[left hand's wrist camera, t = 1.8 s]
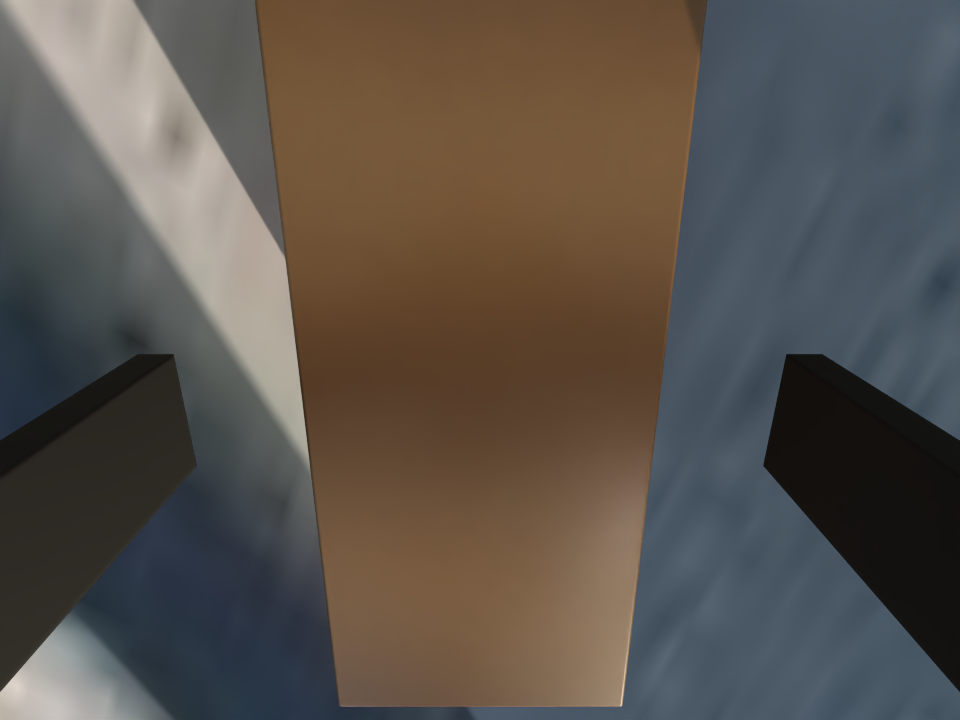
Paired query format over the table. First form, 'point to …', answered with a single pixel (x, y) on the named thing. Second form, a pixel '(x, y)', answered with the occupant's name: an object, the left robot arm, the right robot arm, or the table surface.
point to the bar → (480, 326)
